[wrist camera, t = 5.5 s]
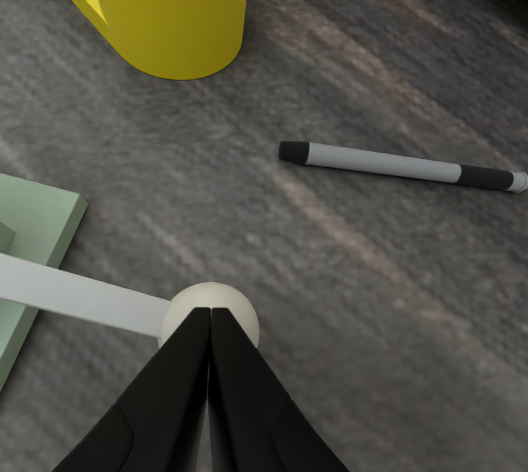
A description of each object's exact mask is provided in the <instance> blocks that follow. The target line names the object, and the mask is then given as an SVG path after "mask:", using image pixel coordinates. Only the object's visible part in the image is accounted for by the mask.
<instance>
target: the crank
mask: <svg viewBox="0 0 528 472" xmlns="http://www.w3.org/2000/svg"><path fill="white" fill-rule="evenodd" d="M72 2H73V3H74V4H75V5H76V6H77V7H78V8H79V9H80V11H81V12H82V13H83V14H84V15H85V16H86V17H87V18H88V20H89V21H90V22H91V23H92V24H93V25H94V26H95V27H96V29H97V30H98V31H99V32H100V33H101V34H102V35H103V36H104V38H105V39H106V40H107V41H108V42H109V43H110V44H111V45H112V47H113V48H114V49H115V50H116V51H117V52H118V53H119V55H120V56H121V57H122V58H123V59H124V60H126V61H127V62H128V63H129V64H131V65H132V66H134V67H135V68H137V69H139V70H141V71H143V72H145V73H148V74H150V75H153V76H156V77H161V78H165V79H172V80H190V79H197V78H202V77H206V76H209V75H212V74H214V73H216V72H218V71H220V70H222V69H223V68H225V67H226V66H227V65H228V64H230V63H231V62H232V61H233V59H234V58H235V57H236V55H237V54H238V52H239V50H240V47H241V44H242V37H243V27H244V18H245V8H246V0H72Z"/></svg>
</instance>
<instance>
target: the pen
mask: <svg viewBox="0 0 528 472" xmlns="http://www.w3.org/2000/svg"><path fill="white" fill-rule="evenodd" d="M278 156H279V158H282V159H286V160H290V161H294V162H298V163H302V164H305V165H308V164H309V165H317V166H325V167H333V168H341V169H348V170H356V171H364V172H372V173H379V174H387V175H395V176H403V177H411V178H418V179H426V180H434V181H442V182H450V183H454V184H461V185H468V186H476V187H483V188H491V189H498V190H503V191H507V190H509V191H512V192H514V193H520V192H522V191H523V190H527V189H528V176H527V174H526V173H524V172H518V173H514V172H512V171H504V170H497V169H490V168H483V167H475V166H468V165H461V164H451V163H444V162H438V161H431V160H424V159H418V158H411V157H404V156H397V155H391V154H384V153H377V152H370V151H364V150H357V149H350V148H344V147H337V146H330V145H323V144H317V143H311V142H293V141H281V142H280V146H279V153H278Z"/></svg>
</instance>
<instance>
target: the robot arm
mask: <svg viewBox="0 0 528 472" xmlns="http://www.w3.org/2000/svg"><path fill="white" fill-rule="evenodd" d="M208 369H209V372H208ZM207 390H208V415H209V428H210V441H211V454H212V467H213V472H350V471H349V470H348V469H347V468H346V466H345V465H344V464H343V463H342V462H341V461H340V460H339V459H338V457H337V456H336V455H335V454H334V453H333V452H332V450H331V449H330V448H329V447H328V446H327V445H326V443H325V442H324V441H323V440H322V439H321V437H320V436H319V435H318V434H317V433H316V431H315V430H314V429H313V427H312V426H311V425H310V423H309V422H308V421H307V419H306V418H305V417H304V415H303V414H302V413H301V411H300V410H299V408H298V407H297V405H296V404H295V402H294V401H293V400H291V397H290V395H289V394H288V393H287V391H286V390H285V388H284V387H283V385H282V384H281V383H280V381H279V380H278V378H277V377H276V375H275V374H274V373H273V371H272V370H271V368H270V367H269V365H268V364H267V363H266V361H265V360H264V358H263V357H262V355H261V354H260V353H259V351H258V350H257V348H256V347H255V345H254V344H253V343H252V341H251V340H250V338H249V337H248V335H247V334H246V333H245V331H244V330H243V328H242V327H241V325H240V324H239V322H238V321H237V320H236V318H235V317H234V315H233V314H232V312H231V311H230V310H229V308H227V307H213V308H212V310H211V308H209V307H195V308H193V309H192V311H191V312H190V313H189V314H188V315H187V317H186V318H185V319H184V320H183V321H182V323H181V324H180V325H179V326H178V327H177V329H176V330H175V331H174V332H173V333H172V335H171V336H170V337H169V338H168V339H167V341H166V342H165V343H164V344H163V345H162V347H161V348H160V349H159V350H158V351H157V353H156V354H155V355H154V356H153V357H152V359H151V360H150V361H149V362H148V363H147V364H146V366H145V367H144V368H143V369H142V370H141V372H140V373H139V374H138V375H137V376H136V378H135V379H134V380H133V381H132V382H131V384H130V385H129V386H128V387H127V388H126V390H125V391H124V392H123V393H122V394H121V396H120V397H119V398H118V399H117V400H116V403H115V404H113V405H112V406H111V407H110V408H109V410H108V411H107V412H106V413H105V415H104V416H103V417H102V418H101V419H100V420H99V422H98V423H97V424H96V425H95V426H94V427H93V428H92V430H91V431H90V432H89V433H88V434H87V435H86V436H85V437H84V439H83V440H82V441H81V442H80V443H79V444H78V445H77V446H76V447H75V448H74V449H73V450H72V451H71V452H70V453H69V454H68V455H67V456H66V457H65V458H64V459H63V460H62V461H61V462H60V463H59V464H58V465H57V466H56V467H55V468H54V469H53V470H52V471H51V472H195V467H196V461H197V455H198V449H199V443H200V438H201V432H202V426H203V420H204V414H205V408H206V401H207Z"/></svg>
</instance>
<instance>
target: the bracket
mask: <svg viewBox="0 0 528 472" xmlns="http://www.w3.org/2000/svg"><path fill="white" fill-rule="evenodd" d="M87 206H88V204H87V203H86V201H85V200H84V199H83V198H82V196H81V195H80V194H78V193H74V192H70V191H66V190H62V189H59V188H55V187H51V186H47V185H44V184H40V183H36V182H32V181H28V180H25V179H21V178H17V177H13V176H9V175H6V174H2V173H0V253H2V254H6V255H9V256H13V257H16V258H20V259H23V260H27V261H30V262H34V263H37V264H41V265H45V266H48V267H52V268H55V269H58V268H59V266H60V264H61V261H62V259H63V257H64V255H65V253H66V251H67V249H68V246H69V244H70V242H71V240H72V238H73V236H74V234H75V231H76V229H77V227H78V225H79V223H80V221H81V219H82V216H83V214H84V212H85V210H86V208H87ZM38 311H39V309H37V308H33V307H29V306H26V305H22V304H18V303H14V302H10V301H6V300H2V299H0V392H1V390H2V388H3V385H4V383H5V381H6V379H7V377H8V375H9V373H10V371H11V368H12V366H13V364H14V362H15V360H16V358H17V356H18V353H19V351H20V349H21V347H22V345H23V343H24V341H25V338H26V336H27V334H28V332H29V330H30V328H31V326H32V323H33V321H34V319H35V317H36V315H37V313H38Z"/></svg>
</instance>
